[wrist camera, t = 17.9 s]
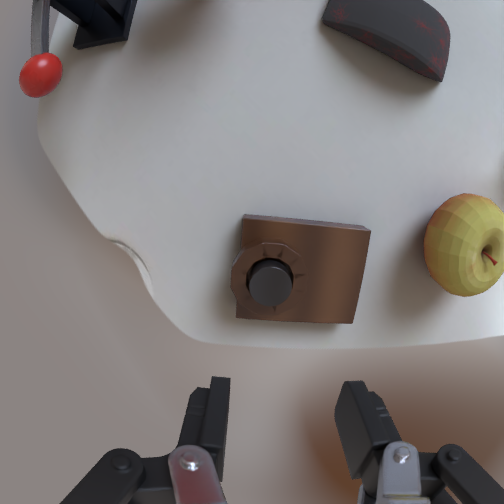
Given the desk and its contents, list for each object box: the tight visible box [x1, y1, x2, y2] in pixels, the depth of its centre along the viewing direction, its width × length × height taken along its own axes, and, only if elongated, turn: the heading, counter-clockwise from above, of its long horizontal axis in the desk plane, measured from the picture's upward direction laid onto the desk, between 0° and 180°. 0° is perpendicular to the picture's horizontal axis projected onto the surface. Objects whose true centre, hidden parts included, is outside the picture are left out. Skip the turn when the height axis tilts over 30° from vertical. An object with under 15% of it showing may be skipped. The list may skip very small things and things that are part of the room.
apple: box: [424, 193, 504, 297], centre depth 23 cm, size 10×10×8 cm
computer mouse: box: [322, 0, 450, 82], centre depth 19 cm, size 8×14×4 cm, turn 70°
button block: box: [231, 214, 371, 324], centre depth 26 cm, size 12×9×4 cm
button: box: [249, 260, 292, 306], centre depth 23 cm, size 3×3×2 cm
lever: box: [19, 0, 63, 98], centre depth 12 cm, size 14×4×4 cm, turn 175°
